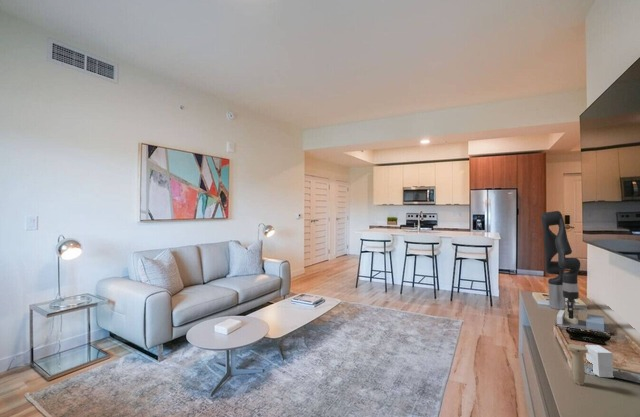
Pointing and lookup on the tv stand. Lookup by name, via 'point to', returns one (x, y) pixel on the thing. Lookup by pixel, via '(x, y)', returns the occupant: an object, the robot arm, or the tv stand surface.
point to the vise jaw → (595, 322)
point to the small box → (600, 360)
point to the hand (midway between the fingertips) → (571, 316)
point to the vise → (581, 324)
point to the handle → (578, 362)
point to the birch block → (575, 315)
